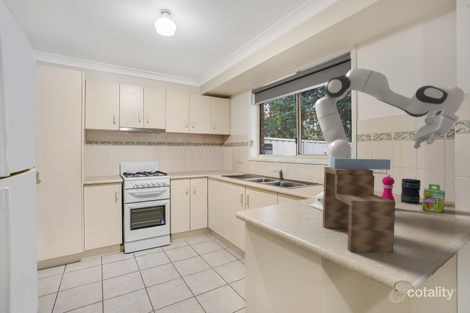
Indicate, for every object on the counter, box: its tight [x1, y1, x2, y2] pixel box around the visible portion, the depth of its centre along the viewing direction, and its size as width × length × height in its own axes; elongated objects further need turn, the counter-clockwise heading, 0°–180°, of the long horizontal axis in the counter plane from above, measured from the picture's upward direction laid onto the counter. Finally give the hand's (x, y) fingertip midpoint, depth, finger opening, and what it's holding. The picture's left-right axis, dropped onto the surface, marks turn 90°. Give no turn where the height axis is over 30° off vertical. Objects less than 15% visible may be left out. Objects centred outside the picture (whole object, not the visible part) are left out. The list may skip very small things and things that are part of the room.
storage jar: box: [400, 178, 421, 205], centre depth 150 cm, size 10×10×15 cm
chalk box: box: [421, 183, 446, 214], centre depth 131 cm, size 9×9×15 cm
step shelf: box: [322, 166, 396, 254], centre depth 88 cm, size 14×25×26 cm, turn 179°
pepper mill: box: [380, 173, 396, 202], centre depth 134 cm, size 7×7×20 cm
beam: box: [331, 158, 391, 171], centre depth 94 cm, size 22×4×4 cm, turn 89°
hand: (422, 145), depth 104 cm, fingers open, 8 cm apart
